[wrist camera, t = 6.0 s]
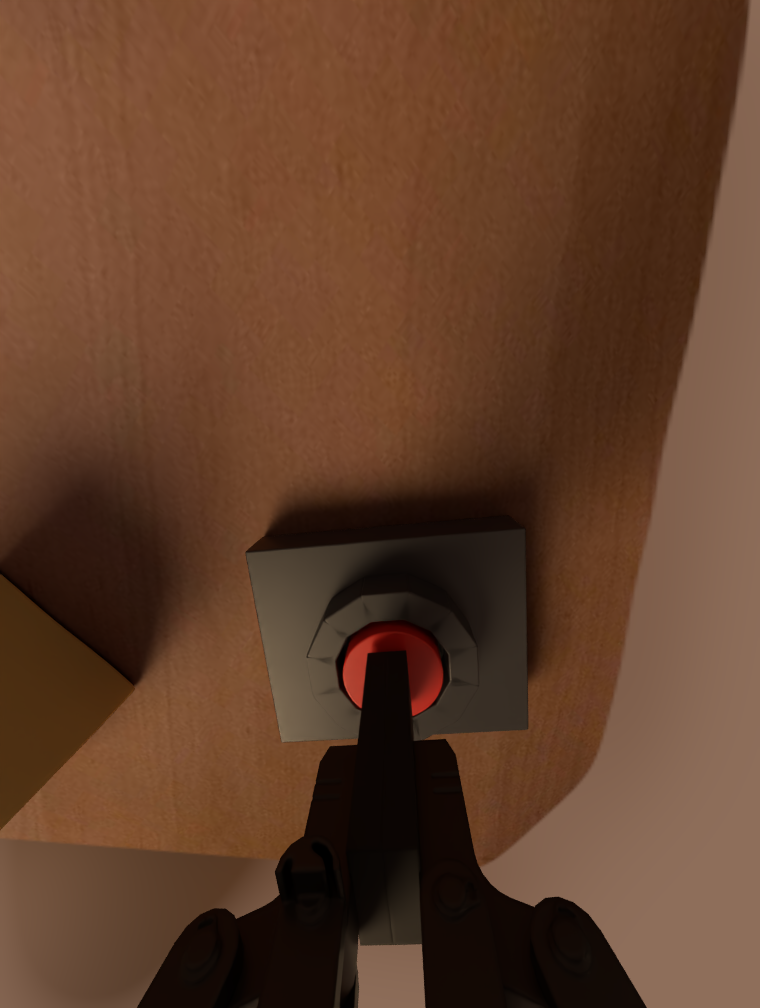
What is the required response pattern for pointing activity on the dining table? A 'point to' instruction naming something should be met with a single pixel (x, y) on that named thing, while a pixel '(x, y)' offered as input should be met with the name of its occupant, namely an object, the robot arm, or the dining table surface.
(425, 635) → the button
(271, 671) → the button block
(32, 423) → the dining table surface
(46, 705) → the cheese
